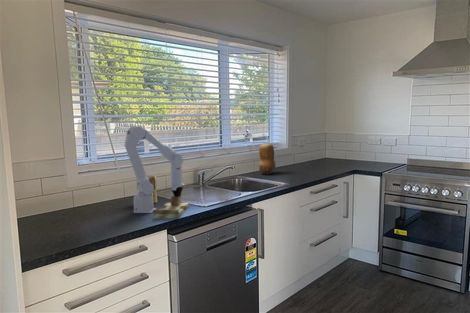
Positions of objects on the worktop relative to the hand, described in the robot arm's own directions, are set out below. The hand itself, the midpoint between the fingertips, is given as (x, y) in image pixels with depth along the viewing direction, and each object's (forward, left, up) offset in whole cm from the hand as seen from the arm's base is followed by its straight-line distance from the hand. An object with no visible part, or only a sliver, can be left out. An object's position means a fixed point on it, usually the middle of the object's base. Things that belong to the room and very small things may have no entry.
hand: (177, 200), depth 188 cm
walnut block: (0, -4, -1) cm, 4 cm away
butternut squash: (+48, +99, -3) cm, 110 cm away
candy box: (-19, +8, -3) cm, 21 cm away
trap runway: (0, -11, -3) cm, 12 cm away
